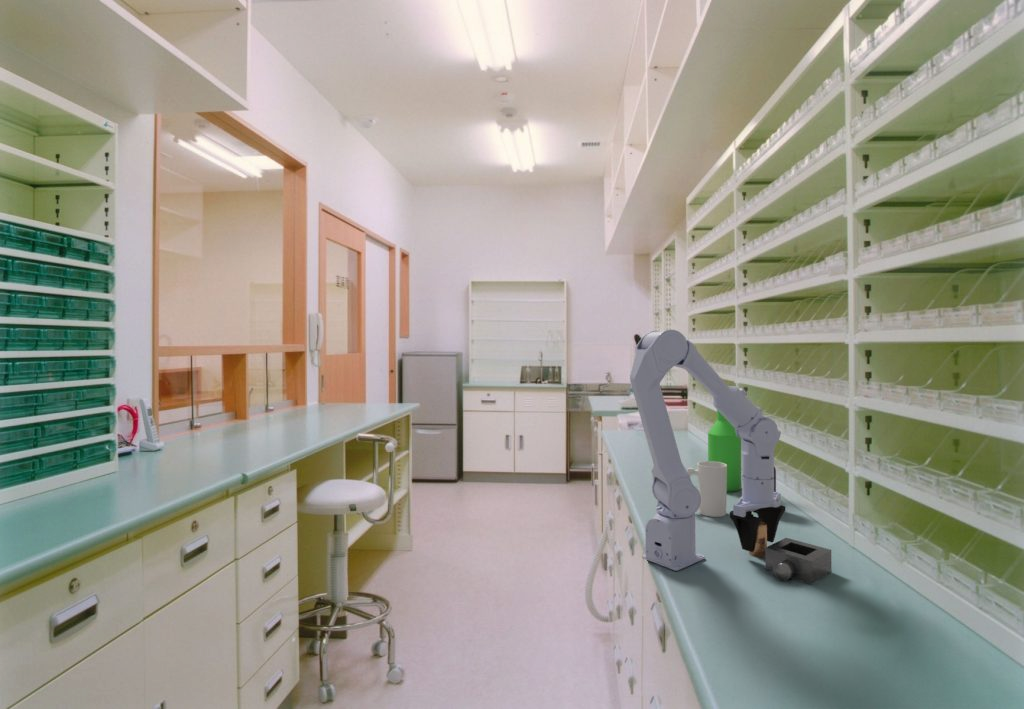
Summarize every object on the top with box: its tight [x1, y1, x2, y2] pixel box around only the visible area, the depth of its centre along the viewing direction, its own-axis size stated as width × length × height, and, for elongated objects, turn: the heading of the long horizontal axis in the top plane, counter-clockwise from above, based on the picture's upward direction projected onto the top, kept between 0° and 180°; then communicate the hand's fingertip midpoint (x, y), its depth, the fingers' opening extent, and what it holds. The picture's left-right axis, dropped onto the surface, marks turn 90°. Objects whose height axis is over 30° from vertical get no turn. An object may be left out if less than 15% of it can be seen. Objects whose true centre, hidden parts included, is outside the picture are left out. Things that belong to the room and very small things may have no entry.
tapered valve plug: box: [748, 522, 768, 558], centre depth 105 cm, size 3×3×6 cm
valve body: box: [764, 537, 832, 585], centre depth 97 cm, size 13×8×4 cm, turn 128°
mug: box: [687, 460, 728, 518], centre depth 131 cm, size 10×7×12 cm, turn 78°
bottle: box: [707, 409, 742, 493], centre depth 152 cm, size 9×9×25 cm
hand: (758, 545), depth 105 cm, fingers open, 7 cm apart
